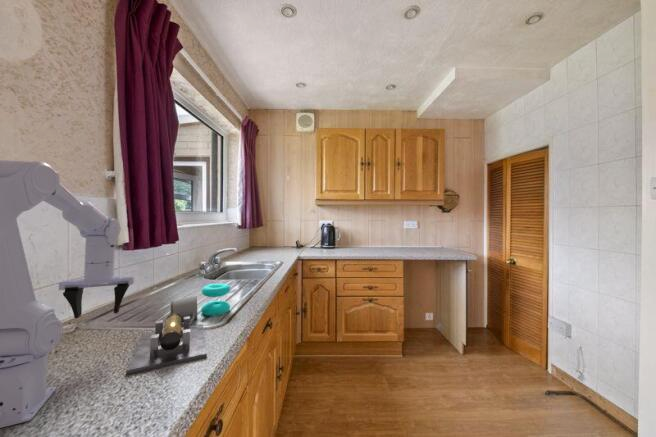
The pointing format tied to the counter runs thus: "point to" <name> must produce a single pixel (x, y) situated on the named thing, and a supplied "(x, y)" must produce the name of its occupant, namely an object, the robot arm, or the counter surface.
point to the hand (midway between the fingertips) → (97, 314)
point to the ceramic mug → (185, 308)
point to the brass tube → (171, 332)
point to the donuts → (215, 306)
